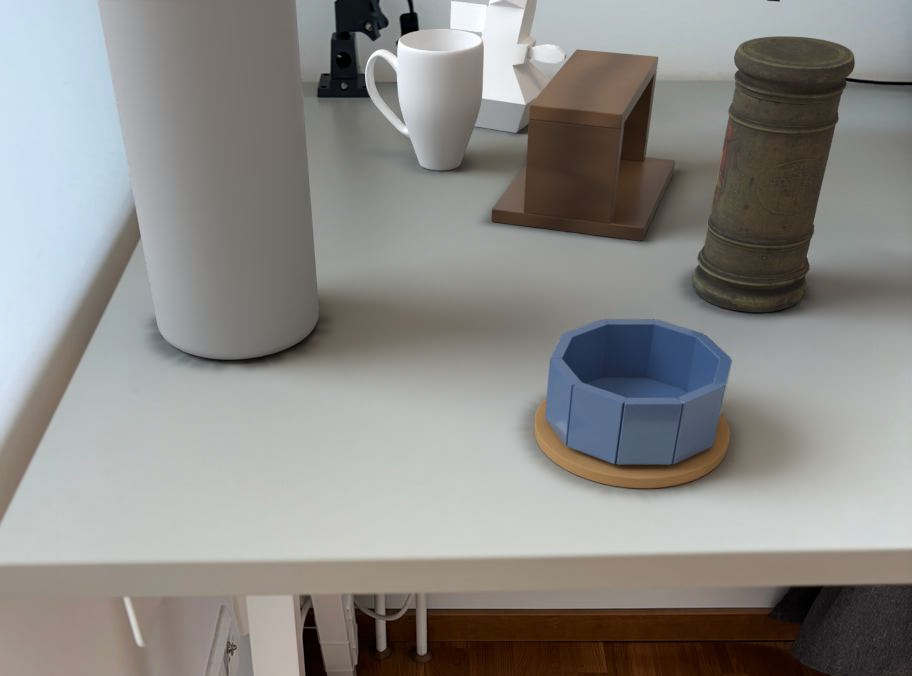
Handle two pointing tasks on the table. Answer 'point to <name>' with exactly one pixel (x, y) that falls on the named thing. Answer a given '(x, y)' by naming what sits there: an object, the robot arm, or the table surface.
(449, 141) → the mug
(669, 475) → the coaster
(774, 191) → the container
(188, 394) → the table surface
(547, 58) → the white faceted sculpture
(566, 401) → the bowl
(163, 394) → the table surface
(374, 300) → the table surface
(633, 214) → the stand
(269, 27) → the cylinder vase
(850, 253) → the table surface
